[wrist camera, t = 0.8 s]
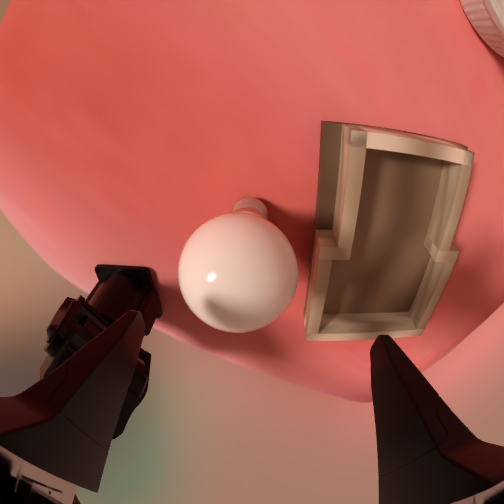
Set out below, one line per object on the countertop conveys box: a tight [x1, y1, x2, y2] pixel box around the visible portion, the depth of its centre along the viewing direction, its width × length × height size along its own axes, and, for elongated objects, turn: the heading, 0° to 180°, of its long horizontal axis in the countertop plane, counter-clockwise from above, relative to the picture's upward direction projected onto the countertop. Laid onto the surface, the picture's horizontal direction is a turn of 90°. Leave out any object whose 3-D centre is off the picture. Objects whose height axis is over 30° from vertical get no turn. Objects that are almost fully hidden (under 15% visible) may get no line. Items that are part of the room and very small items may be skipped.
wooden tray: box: [304, 121, 475, 341], centre depth 20 cm, size 12×18×4 cm, turn 1°
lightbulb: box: [178, 197, 298, 333], centre depth 17 cm, size 6×6×11 cm
